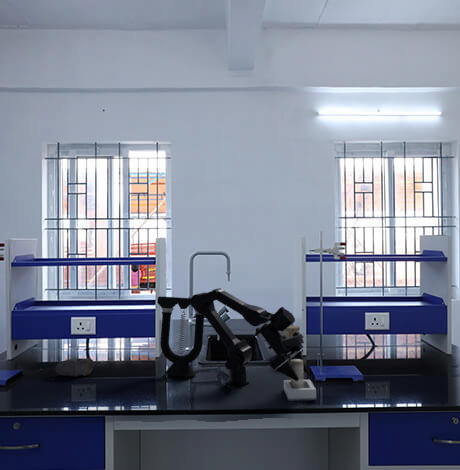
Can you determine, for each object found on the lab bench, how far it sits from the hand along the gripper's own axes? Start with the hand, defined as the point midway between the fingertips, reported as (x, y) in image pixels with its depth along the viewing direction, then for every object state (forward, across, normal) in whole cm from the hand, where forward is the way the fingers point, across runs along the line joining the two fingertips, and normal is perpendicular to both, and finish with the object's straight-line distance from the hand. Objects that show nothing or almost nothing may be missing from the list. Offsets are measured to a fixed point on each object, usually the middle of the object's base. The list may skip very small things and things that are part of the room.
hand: (302, 376), depth 143 cm
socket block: (+4, 0, +5) cm, 7 cm away
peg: (+3, 0, +6) cm, 6 cm away
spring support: (-29, -3, +42) cm, 51 cm away
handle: (-6, +34, +17) cm, 39 cm away
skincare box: (-11, +43, +23) cm, 49 cm away
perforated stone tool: (-53, -22, +71) cm, 91 cm away
